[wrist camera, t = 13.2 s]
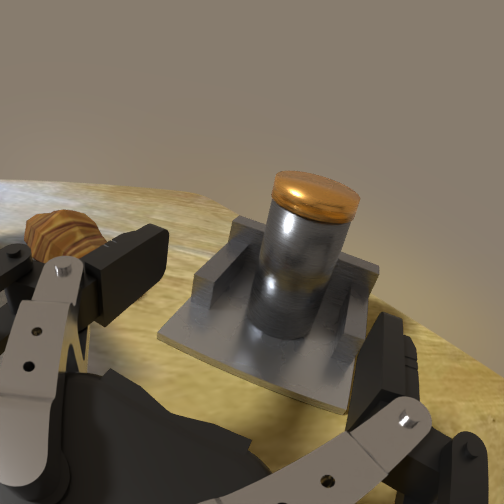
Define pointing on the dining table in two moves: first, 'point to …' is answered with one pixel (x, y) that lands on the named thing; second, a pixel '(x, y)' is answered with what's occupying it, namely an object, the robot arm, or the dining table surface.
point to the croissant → (62, 235)
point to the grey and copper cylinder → (299, 252)
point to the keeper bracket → (266, 347)
